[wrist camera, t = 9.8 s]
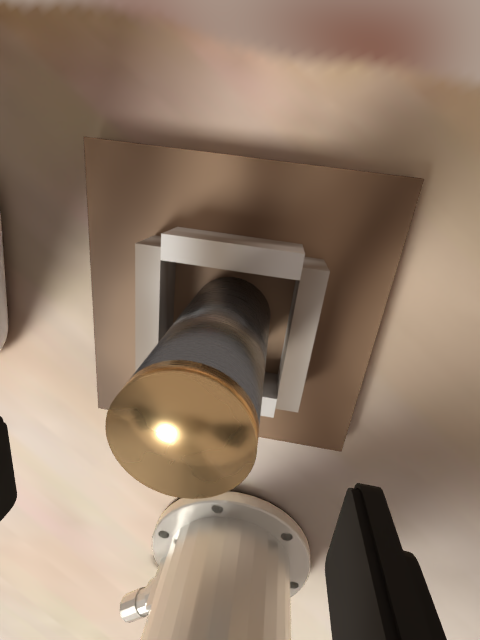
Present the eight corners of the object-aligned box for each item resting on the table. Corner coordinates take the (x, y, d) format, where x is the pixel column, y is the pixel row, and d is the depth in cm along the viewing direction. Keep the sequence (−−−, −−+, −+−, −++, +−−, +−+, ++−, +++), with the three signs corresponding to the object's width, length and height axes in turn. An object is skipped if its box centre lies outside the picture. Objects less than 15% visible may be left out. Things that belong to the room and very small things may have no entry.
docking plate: (414, 179, 16) (448, 178, 13) (338, 438, 23) (347, 483, 19) (96, 139, 17) (50, 129, 14) (107, 397, 24) (77, 433, 20)
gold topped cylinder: (225, 364, 20) (174, 517, 11) (176, 307, 19) (75, 423, 10) (286, 324, 19) (288, 461, 9) (236, 260, 18) (185, 344, 8)
